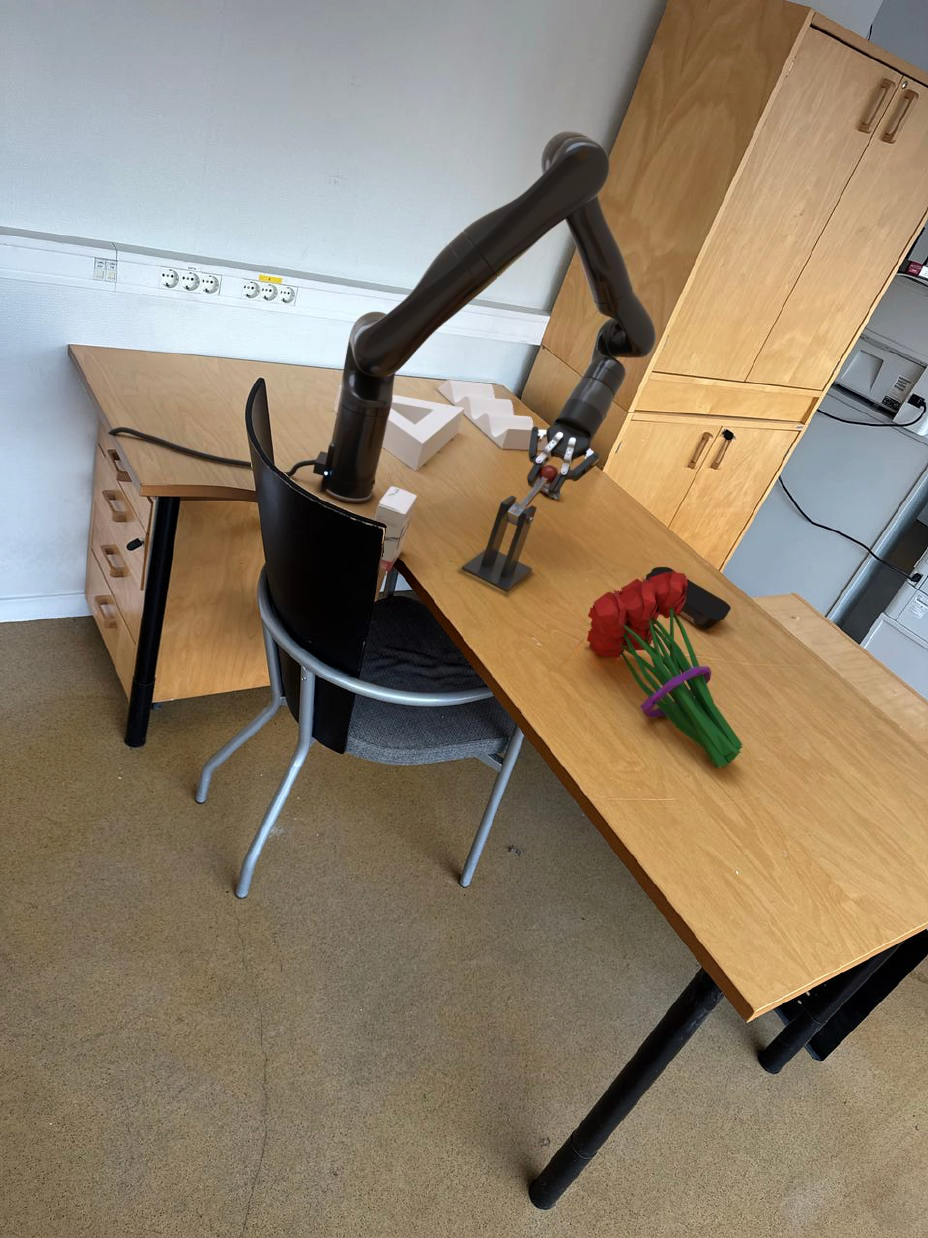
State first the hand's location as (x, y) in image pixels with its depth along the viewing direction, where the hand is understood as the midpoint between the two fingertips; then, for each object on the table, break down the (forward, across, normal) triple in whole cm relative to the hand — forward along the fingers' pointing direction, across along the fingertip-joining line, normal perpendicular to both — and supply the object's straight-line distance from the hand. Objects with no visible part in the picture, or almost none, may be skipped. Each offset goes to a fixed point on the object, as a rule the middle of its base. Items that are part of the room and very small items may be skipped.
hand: (540, 488), depth 149 cm
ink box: (+26, -16, -6) cm, 31 cm away
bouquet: (+27, +35, -7) cm, 45 cm away
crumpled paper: (-13, -8, +34) cm, 38 cm away
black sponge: (+3, +30, +19) cm, 35 cm away
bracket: (+16, 0, +4) cm, 17 cm away
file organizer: (-32, -36, +55) cm, 74 cm away
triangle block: (-12, -41, +33) cm, 54 cm away
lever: (+3, 0, -1) cm, 3 cm away
